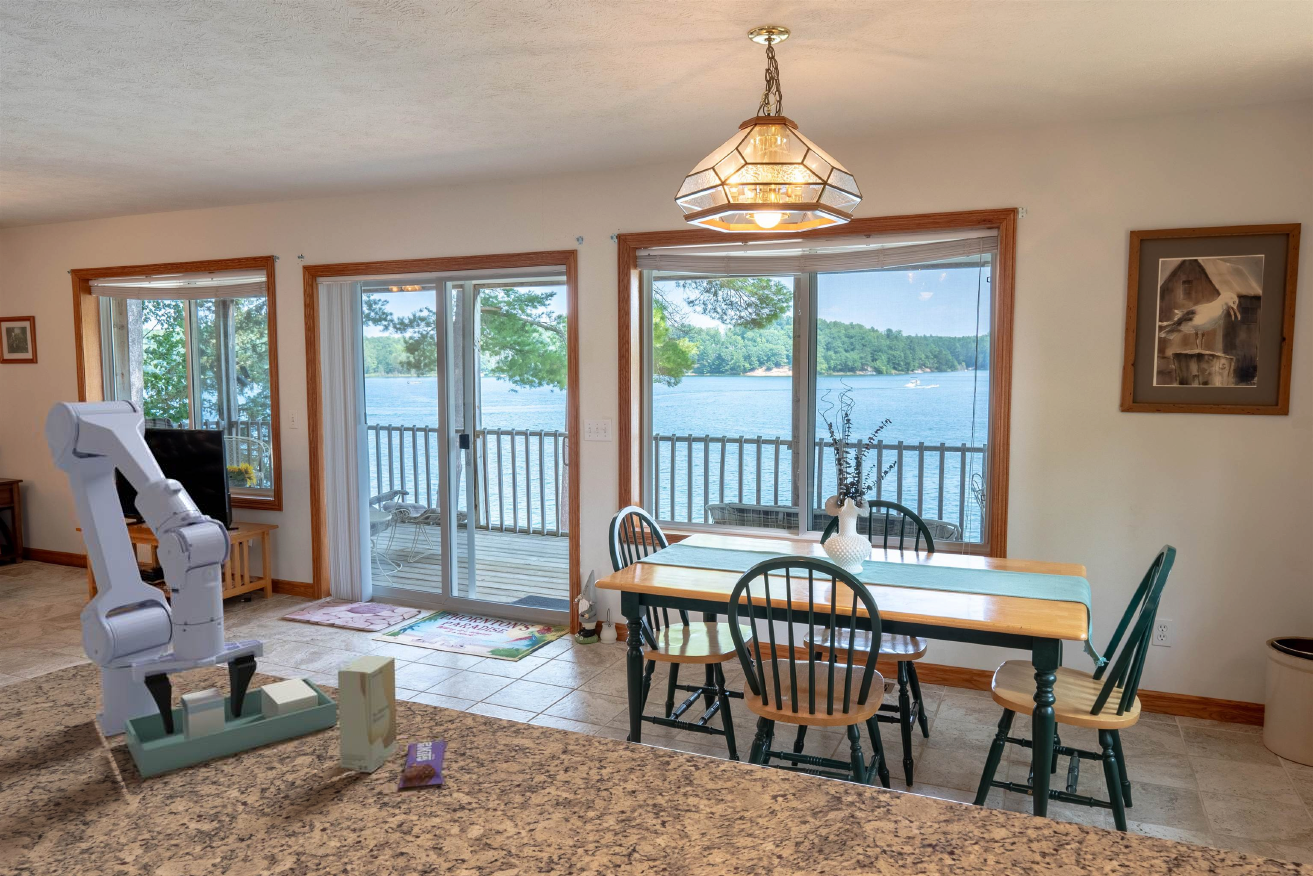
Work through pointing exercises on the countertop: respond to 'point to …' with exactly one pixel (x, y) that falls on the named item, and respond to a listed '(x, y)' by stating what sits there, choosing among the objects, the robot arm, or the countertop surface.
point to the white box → (287, 698)
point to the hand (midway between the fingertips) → (203, 723)
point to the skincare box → (367, 713)
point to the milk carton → (203, 713)
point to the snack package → (424, 764)
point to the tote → (220, 733)
